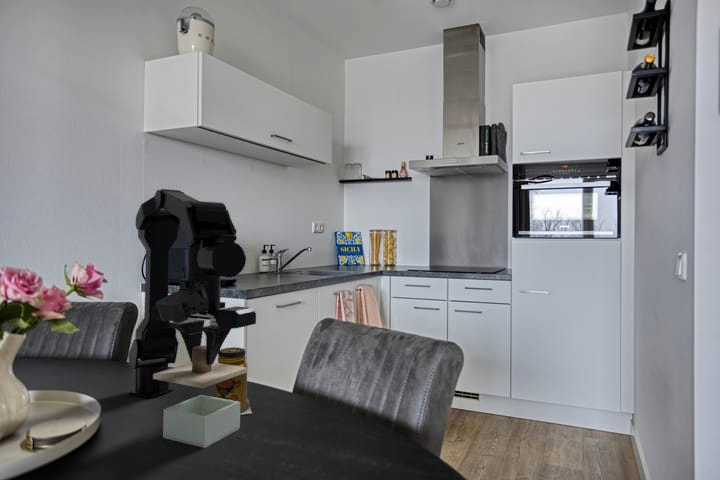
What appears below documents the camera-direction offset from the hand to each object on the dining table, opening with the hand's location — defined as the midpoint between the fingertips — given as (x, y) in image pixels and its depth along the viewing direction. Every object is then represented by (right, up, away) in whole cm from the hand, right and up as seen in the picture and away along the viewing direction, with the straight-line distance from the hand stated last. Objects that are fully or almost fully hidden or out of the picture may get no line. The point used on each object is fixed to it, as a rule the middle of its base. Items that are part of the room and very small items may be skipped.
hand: (202, 363), depth 85 cm
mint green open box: (0, -12, 0) cm, 12 cm away
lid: (0, -2, 0) cm, 2 cm away
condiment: (+2, -12, +13) cm, 18 cm away
